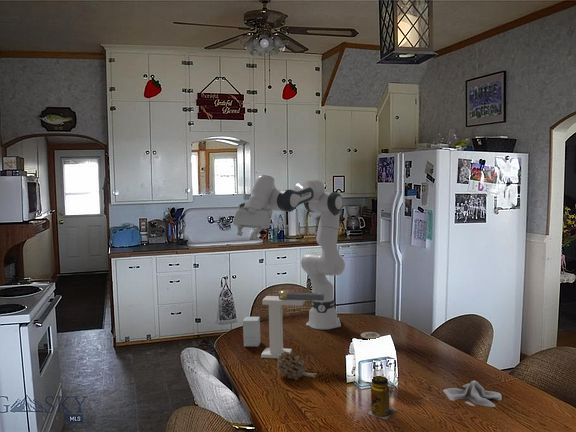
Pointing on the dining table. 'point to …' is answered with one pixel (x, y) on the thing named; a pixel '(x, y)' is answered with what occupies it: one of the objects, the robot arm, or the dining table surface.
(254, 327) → the supplement box
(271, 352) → the stand
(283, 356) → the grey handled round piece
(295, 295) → the link bar
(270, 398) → the dining table surface
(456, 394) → the cloth
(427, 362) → the dining table surface
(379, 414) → the condiment
